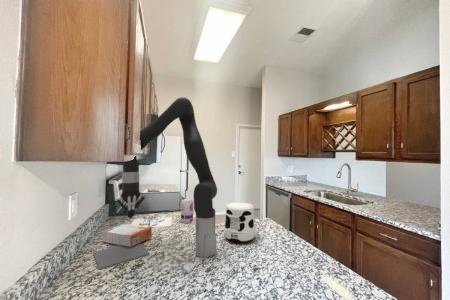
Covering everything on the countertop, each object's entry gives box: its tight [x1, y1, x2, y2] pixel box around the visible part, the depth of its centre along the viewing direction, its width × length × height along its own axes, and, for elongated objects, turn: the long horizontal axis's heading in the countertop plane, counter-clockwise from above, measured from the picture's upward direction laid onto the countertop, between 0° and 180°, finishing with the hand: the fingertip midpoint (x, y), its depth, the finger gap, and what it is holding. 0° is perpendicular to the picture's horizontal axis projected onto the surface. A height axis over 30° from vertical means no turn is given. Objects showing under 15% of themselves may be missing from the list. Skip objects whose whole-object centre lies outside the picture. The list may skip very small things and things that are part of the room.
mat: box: [92, 243, 150, 271], centre depth 95 cm, size 18×20×1 cm
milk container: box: [223, 201, 257, 243], centre depth 113 cm, size 17×17×18 cm
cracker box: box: [102, 223, 153, 247], centre depth 110 cm, size 14×6×21 cm
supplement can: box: [180, 198, 194, 224], centre depth 141 cm, size 8×8×15 cm
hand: (130, 217), depth 98 cm, fingers closed
